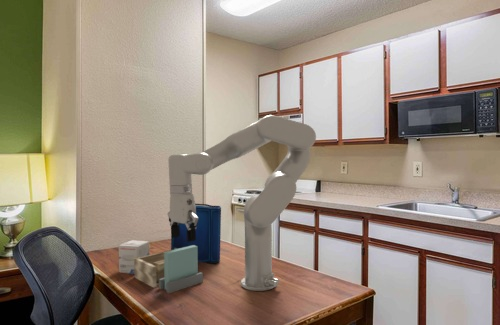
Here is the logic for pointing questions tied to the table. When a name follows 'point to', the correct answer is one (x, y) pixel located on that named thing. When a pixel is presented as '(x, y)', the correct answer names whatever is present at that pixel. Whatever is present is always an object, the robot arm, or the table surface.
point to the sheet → (180, 263)
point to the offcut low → (159, 276)
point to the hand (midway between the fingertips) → (183, 239)
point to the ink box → (131, 254)
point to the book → (203, 234)
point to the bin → (147, 268)
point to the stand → (181, 282)
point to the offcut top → (159, 266)
